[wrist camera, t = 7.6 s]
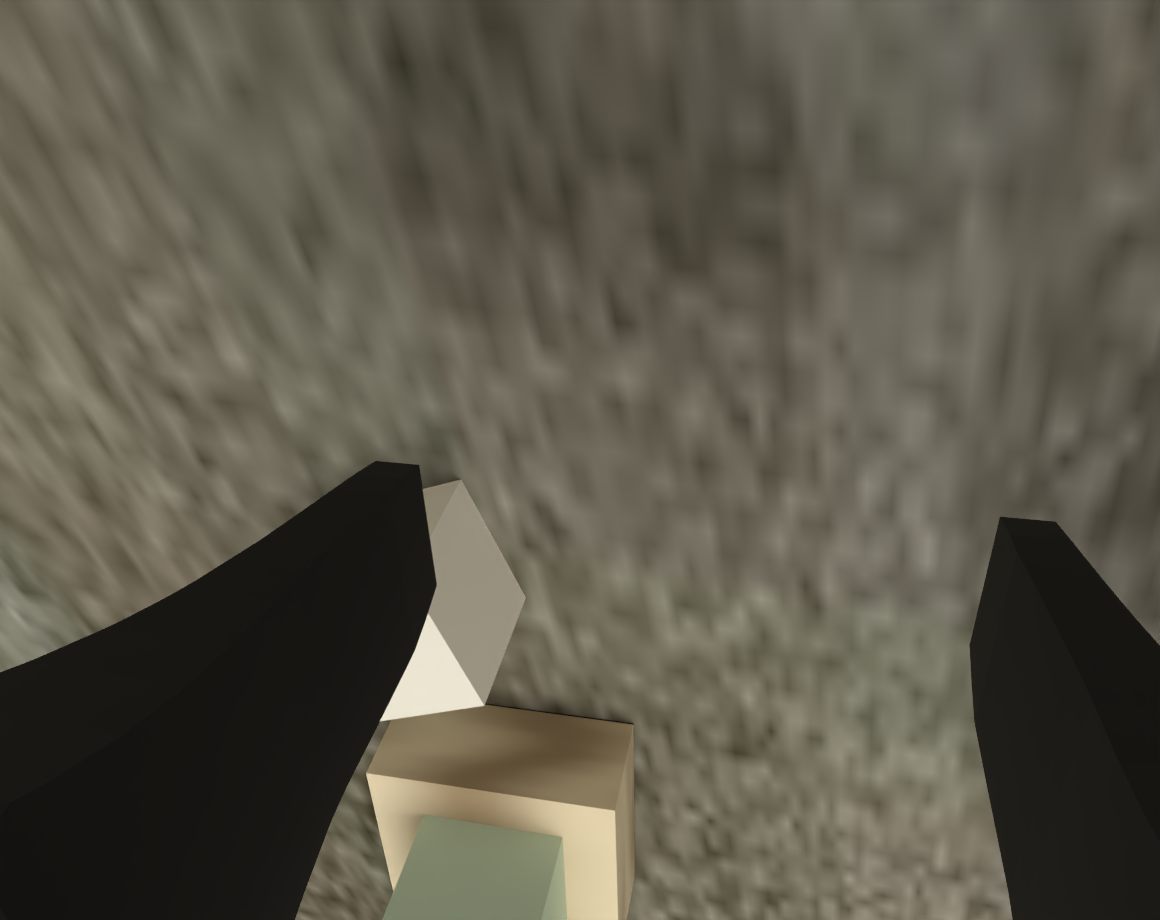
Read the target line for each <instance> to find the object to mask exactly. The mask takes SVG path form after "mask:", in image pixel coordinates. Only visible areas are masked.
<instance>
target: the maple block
mask: <svg viewBox="0 0 1160 920" xmlns="http://www.w3.org/2000/svg"><path fill="white" fill-rule="evenodd" d="M366 774H367V779H368V783H369V787H370V792H371V796H372V800H373V805H374V809H375V813H376V818H377V822H378V827H379V831H380V835H381V840H382V844H383V848H384V853H385V857H386V861H387V866H388V870H389V874H390V879H391V883H392V887H393V892H394V889H395V887H396V884H397V882H398V879H399V877H400V874H401V872H402V869H403V866H404V864H405V861H406V859H407V856H408V854H409V851H410V849H411V846H412V844H413V841H414V839H415V836H416V834H417V831H418V829H419V826H420V824H421V821H422V819H423V816H424V814H425V815H431V816H437V817H443V818H449V819H455V820H461V821H467V822H473V823H479V824H485V825H491V826H497V827H503V828H509V829H515V830H522V831H528V832H534V833H540V834H546V835H552V836H558V837H563V854H564V872H565V890H566V908H567V920H627V915H628V910H629V904H630V899H631V894H632V888H633V883H634V877H635V804H634V725H632V724H625V723H617V722H610V721H602V720H595V719H588V718H580V717H573V716H565V715H558V714H551V713H543V712H536V711H528V710H521V709H513V708H506V707H499V706H491V705H485V706H479V707H473V708H466V709H459V710H452V711H446V712H439V713H432V714H426V715H419V716H412V717H405V718H399V719H392V720H391V722H390V724H389V726H388V728H387V730H386V732H385V734H384V736H383V739H382V741H381V743H380V745H379V747H378V749H377V751H376V753H375V756H374V758H373V760H372V762H371V764H370V766H369V768H368V770H367V773H366Z"/></svg>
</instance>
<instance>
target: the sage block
mask: <svg viewBox="0 0 1160 920" xmlns="http://www.w3.org/2000/svg"><path fill="white" fill-rule="evenodd" d="M382 920H567V908H566V890H565V872H564V854H563V837H558V836H552V835H546V834H540V833H534V832H528V831H522V830H515V829H509V828H503V827H497V826H491V825H485V824H479V823H473V822H467V821H461V820H455V819H449V818H443V817H437V816H431V815H425V814H424V816H423V819H422V821H421V824H420V826H419V829H418V831H417V834H416V836H415V839H414V841H413V844H412V846H411V849H410V851H409V854H408V856H407V859H406V861H405V864H404V866H403V869H402V872H401V874H400V877H399V879H398V882H397V884H396V887H395V889H394V892H393V894H392V897H391V899H390V902H389V904H388V907H387V909H386V912H385V914H384V917H383V919H382Z"/></svg>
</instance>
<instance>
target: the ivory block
mask: <svg viewBox="0 0 1160 920" xmlns="http://www.w3.org/2000/svg"><path fill="white" fill-rule="evenodd" d="M423 495H424V502H425V508H426V515H427V522H428V529H429V535H430V542H431V549H432V555H433V562H434V569H435V575H436V582H437V587H436V590H435V593H434V596H433V599H432V602H431V605H430V608H429V612H428V615H427V618H426V621H425V624H424V626H423V629H422V632H421V635H420V638H419V641H418V643H417V646H416V649H415V651H414V653H413V656H412V658H411V660H410V662H409V664H408V666H407V668H406V670H405V672H404V674H403V676H402V678H401V680H400V682H399V684H398V686H397V688H396V690H395V692H394V694H393V696H392V698H391V700H390V702H389V704H388V706H387V708H386V710H385V712H384V714H383V716H382V718H381V720H380V721H385V720H392V719H399V718H405V717H412V716H419V715H426V714H432V713H439V712H446V711H452V710H459V709H466V708H473V707H479V706H485V703H486V700H487V698H488V695H489V693H490V690H491V687H492V685H493V682H494V680H495V677H496V674H497V672H498V669H499V667H500V664H501V661H502V659H503V656H504V654H505V651H506V648H507V646H508V643H509V641H510V638H511V635H512V633H513V630H514V628H515V625H516V622H517V620H518V617H519V615H520V612H521V609H522V607H523V604H524V601H525V599H526V597H525V595H524V593H523V592H522V590H521V588H520V586H519V584H518V582H517V581H516V579H515V577H514V575H513V573H512V571H511V570H510V568H509V566H508V564H507V562H506V561H505V559H504V557H503V555H502V553H501V551H500V550H499V548H498V546H497V544H496V542H495V540H494V539H493V537H492V535H491V533H490V531H489V530H488V528H487V526H486V524H485V522H484V520H483V519H482V517H481V515H480V513H479V511H478V509H477V508H476V506H475V504H474V502H473V500H472V499H471V497H470V495H469V493H468V491H467V489H466V488H465V486H464V484H463V482H462V480H457V481H453V482H449V483H445V484H441V485H437V486H433V487H429V488H425V489H423Z"/></svg>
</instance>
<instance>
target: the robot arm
mask: <svg viewBox="0 0 1160 920" xmlns="http://www.w3.org/2000/svg"><path fill="white" fill-rule="evenodd" d="M436 587H437V582H436V575H435V569H434V562H433V555H432V549H431V542H430V535H429V529H428V522H427V515H426V508H425V502H424V495H423V488H422V482H421V475H420V468H419V465H413V464H402V463H391V462H380V461H375V462H373V463H372V464H370V465H368V466H367V467H365V468H364V469H362V470H361V471H359V472H358V473H356V474H355V475H353V476H352V477H350V478H349V479H347V480H346V481H344V482H343V483H342V484H340V485H339V486H337V487H336V488H334V489H333V490H332V491H330V492H329V493H327V494H326V495H324V496H323V497H322V498H320V499H319V500H317V501H316V502H315V503H313V504H312V505H310V506H309V507H307V508H306V509H305V510H303V511H302V512H300V513H299V514H297V515H296V516H294V517H293V518H292V519H290V520H289V521H287V522H286V523H284V524H283V525H281V526H280V527H279V528H277V529H276V530H274V531H273V532H271V533H270V534H268V535H267V536H265V537H264V538H263V539H261V540H260V541H258V542H257V543H255V544H253V545H252V546H250V547H249V548H247V549H245V550H244V551H242V552H241V553H239V554H237V555H236V556H234V557H233V558H231V559H229V560H228V561H226V562H225V563H223V564H221V565H220V566H218V567H217V568H215V569H214V570H212V571H210V572H209V573H207V574H206V575H204V576H202V577H201V578H199V579H198V580H196V581H194V582H193V583H191V584H189V585H187V586H186V587H184V588H182V589H180V590H179V591H177V592H175V593H173V594H171V595H170V596H168V597H166V598H164V599H162V600H161V601H159V602H157V603H155V604H153V605H151V606H149V607H147V608H145V609H143V610H141V611H139V612H137V613H135V614H133V615H132V616H130V617H128V618H126V619H124V620H122V621H120V622H118V623H116V624H114V625H111V626H109V627H107V628H105V629H103V630H101V631H98V632H96V633H94V634H91V635H89V636H87V637H85V638H82V639H80V640H78V641H75V642H73V643H71V644H69V645H66V646H64V647H62V648H59V649H57V650H55V651H53V652H50V653H48V654H46V655H43V656H41V657H39V658H37V659H34V660H32V661H29V662H27V663H24V664H21V665H19V666H16V667H13V668H11V669H8V670H6V671H3V672H0V920H295V917H296V914H297V912H298V909H299V906H300V903H301V900H302V897H303V894H304V892H305V889H306V886H307V883H308V881H309V878H310V875H311V873H312V870H313V868H314V865H315V862H316V860H317V857H318V854H319V852H320V849H321V846H322V844H323V841H324V838H325V836H326V833H327V831H328V828H329V825H330V823H331V820H332V818H333V816H334V813H335V811H336V809H337V807H338V804H339V802H340V800H341V798H342V796H343V793H344V791H345V789H346V787H347V785H348V783H349V781H350V779H351V777H352V775H353V773H354V771H355V769H356V767H357V765H358V763H359V761H360V759H361V757H362V755H363V753H364V751H365V750H366V748H367V746H368V744H369V742H370V740H371V738H372V736H373V734H374V732H375V730H376V728H377V726H378V724H379V722H380V720H381V718H382V716H383V714H384V712H385V710H386V708H387V706H388V704H389V702H390V700H391V698H392V696H393V694H394V692H395V690H396V688H397V686H398V684H399V682H400V680H401V678H402V676H403V674H404V672H405V670H406V668H407V666H408V664H409V662H410V660H411V658H412V656H413V653H414V651H415V649H416V646H417V643H418V641H419V638H420V635H421V632H422V629H423V626H424V624H425V621H426V618H427V615H428V612H429V608H430V605H431V602H432V599H433V596H434V593H435V590H436ZM970 659H971V678H972V694H973V707H974V721H975V726H976V732H977V737H978V742H979V747H980V752H981V757H982V763H983V768H984V773H985V778H986V783H987V788H988V793H989V798H990V803H991V808H992V813H993V817H994V822H995V827H996V832H997V837H998V842H999V847H1000V852H1001V857H1002V862H1003V867H1004V872H1005V877H1006V882H1007V887H1008V892H1009V898H1010V905H1011V911H1012V917H1013V920H1160V645H1159V644H1158V643H1157V642H1156V641H1155V640H1154V639H1153V638H1152V636H1151V635H1150V634H1149V633H1148V632H1147V631H1146V630H1145V629H1144V627H1143V626H1142V625H1141V624H1140V623H1139V622H1138V621H1137V620H1136V618H1135V617H1134V616H1133V615H1132V614H1131V613H1130V611H1129V610H1128V609H1127V608H1126V607H1125V606H1124V604H1123V603H1122V602H1121V601H1120V600H1119V598H1118V597H1117V596H1116V595H1115V594H1114V592H1113V591H1112V590H1111V589H1110V588H1109V586H1108V585H1107V584H1106V583H1105V582H1104V580H1103V579H1102V578H1101V577H1100V575H1099V574H1098V573H1097V572H1096V571H1095V569H1094V568H1093V567H1092V566H1091V564H1090V563H1089V562H1088V561H1087V559H1086V558H1085V557H1084V556H1083V554H1082V553H1081V552H1080V551H1079V550H1078V548H1077V547H1076V546H1075V545H1074V543H1073V542H1072V541H1071V540H1070V538H1069V537H1068V536H1067V535H1066V534H1065V532H1064V531H1063V530H1062V529H1061V528H1060V526H1059V525H1058V524H1057V523H1056V522H1052V521H1041V520H1030V519H1018V518H1007V517H1000V519H999V524H998V528H997V532H996V536H995V541H994V545H993V549H992V553H991V557H990V562H989V566H988V570H987V574H986V579H985V583H984V587H983V591H982V595H981V600H980V604H979V608H978V612H977V617H976V621H975V625H974V629H973V633H972V638H971V642H970Z"/></svg>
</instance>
